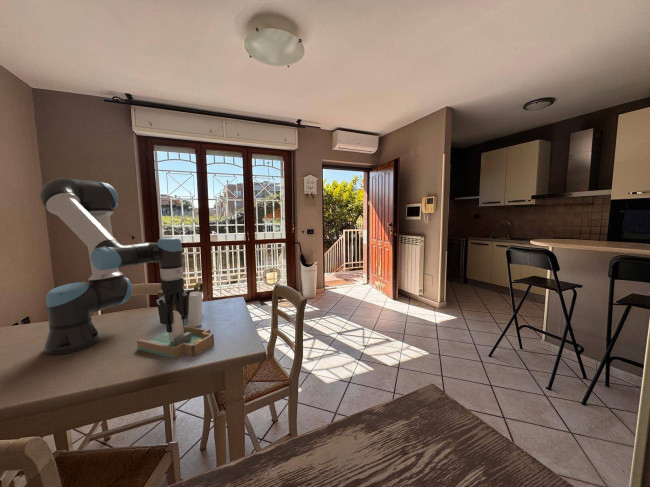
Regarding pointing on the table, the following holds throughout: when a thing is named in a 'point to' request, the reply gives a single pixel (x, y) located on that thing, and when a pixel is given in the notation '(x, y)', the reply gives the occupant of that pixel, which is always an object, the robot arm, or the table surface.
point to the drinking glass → (195, 309)
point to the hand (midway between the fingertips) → (176, 337)
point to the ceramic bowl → (187, 290)
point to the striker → (179, 330)
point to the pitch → (168, 349)
